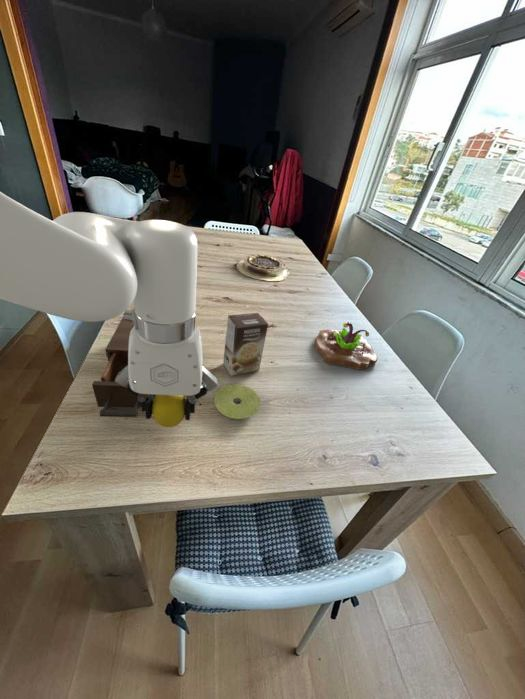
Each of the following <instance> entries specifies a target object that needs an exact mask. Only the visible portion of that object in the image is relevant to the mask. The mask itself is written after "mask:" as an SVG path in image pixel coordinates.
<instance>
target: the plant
mask: <svg viewBox="0 0 525 699" xmlns="http://www.w3.org/2000/svg"><path fill="white" fill-rule="evenodd" d="M342 327H343V328H342V329H321V330H319V331H318V335H317V336H316V337H315V341H314V346H315V351H316V353H318V354H319V355H320V356H321V357H322V359H323V360H324V363H325V364H328V365H332V366H339V367H343V368H352V369H355V370H357V371H358V370H367V368H368V367H374V366H375V365H376V363H377V361H378V355H377V354H376V352H375V350H374V349H373V348H372V346H371V344H370V343H369V342H368V341H367V339H365V337H370V333H369V331H367V330H366V329H359V330H356V331H355V332H354V326H353V324H352V323H351V322H350V321H347V322H345V323H343V324H342ZM346 328H348V329H349V330H347V329H346ZM361 332H365V334H364V335H365V337H363V336H362V334H360V333H361Z"/></svg>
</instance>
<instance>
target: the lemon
mask: <svg viewBox="0 0 525 699" xmlns="http://www.w3.org/2000/svg"><path fill="white" fill-rule="evenodd" d="M185 404H186V397H185V396H180V395H156V396H155V398H154V400H153V403H152V418H153V420H154V421H155V423H157V424H158V425H159V426H161V427H163V428H174V427H176V426H178V425H179V424H180V423H182V422H183V421H184V419H185Z"/></svg>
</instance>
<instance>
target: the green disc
mask: <svg viewBox="0 0 525 699" xmlns="http://www.w3.org/2000/svg"><path fill="white" fill-rule="evenodd" d="M213 401H214V406H215V408H216V410H217V411H218V412H219V413H221V414H222V415H223V416H225V417H227V418H230V419H235V420H241V419H247V418H249V417H252V416H253V415H255V414H256V413H257V412H258V410H259V409H260V406H261V400H260V397H259V395H258V394H257V393H256V392H255V391H254V389H252V388H251V387H248V386H246V385H242V384H230V385H226V386H223V387H222V388H220V389H219V390H217V392H216V394H215V395H214V399H213Z"/></svg>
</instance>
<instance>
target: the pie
mask: <svg viewBox="0 0 525 699" xmlns="http://www.w3.org/2000/svg"><path fill="white" fill-rule="evenodd" d="M236 269H237V270H238V271H239V273H241V274H243V275H244V276H247V277H249V278H252V279H255V280H261V281H266V282H278V281H279V282H280V281H284V280H286V279H288V278H287V276H289V275H290V274H291V273H292V270H291V269H289V268H288V267H287V264H286V263H285V262H284V260H282V259H280V258H277V257H275V256H273V255H267V254H265V255H264V254H253V253H251V254H249V255H247V256H245V257H244V259H242V260H240V261H238V263H237V264H236Z"/></svg>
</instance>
